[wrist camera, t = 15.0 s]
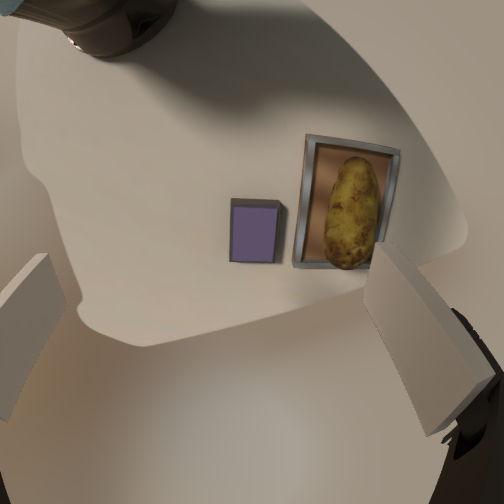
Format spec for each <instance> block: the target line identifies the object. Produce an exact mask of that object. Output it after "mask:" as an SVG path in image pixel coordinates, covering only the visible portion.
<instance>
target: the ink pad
mask: <svg viewBox="0 0 504 504" xmlns="http://www.w3.org/2000/svg"><path fill="white" fill-rule="evenodd" d="M280 208H281V204H280V202H279V200H265V199H239V198H231V212H230V254H229V262H255V263H275V258H276V248H277V238H278V229H279V218H280Z"/></svg>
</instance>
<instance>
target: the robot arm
mask: <svg viewBox="0 0 504 504" xmlns="http://www.w3.org/2000/svg"><path fill="white" fill-rule="evenodd" d="M176 4H177V0H0V15H1V16H8V15H9V16H14V17H18V18H22V19H26V20H30V21H34V22H38V23H41V24H44V25H48V26H51V27H54V28H57V29H60V30H62V31H63V33H64V34H65V35H66V36H67V37H68V39H69V41H70V42H71V44H72V45H73V46H74V47H75V48H76V49H78V50H79V51H81V52H83V53H86V54H89V55H92V56H96V57H113V56H118V55H122V54H125V53H127V52H130V51H132V50H134V49H136V48H138V47H140V46H141V45H143V44H145V43H146V42H147V41H149V40H150V39H151V38H153V37H154V36H155V35H156V34H157V33H158V32H159V31H160V30H161V29H162V28H163V27H164V26H165V24H166V23H167V22H168V20H169V19H170V17H171V16H172V14H173V12H174V10H175V7H176ZM362 301H363V303H364V305H365V307H366V309H367V311H368V313H369V314H370V316H371V318H372V320H373V322H374V324H375V326H376V328H377V330H378V332H379V334H380V336H381V337H382V340H383V342H384V344H385V346H386V348H387V350H388V352H389V354H390V355H391V358H392V360H393V362H394V364H395V366H396V368H397V370H398V372H399V375H400V377H401V379H402V381H403V383H404V385H405V388H406V390H407V392H408V394H409V397H410V399H411V401H412V404H413V406H414V408H415V410H416V413H417V415H418V417H419V420H420V423H421V425H422V428H423V430H424V432H425V435H426V437H428V436H430V435H432V434H435V433H437V432H439V431H441V430H444V429H445V428H447V427H448V426H449V425H450V423H452V422H453V421H454V420H455V419H456V421H457V423H458V425H457V426H456V427H455V428H454V429H453V430H452V431H451V432H450V433H448V434H447V435H446V436H445V437H444V438H443V440H442V442H441V443H442V444H443V443H445V442H446V441H447V440H449V439H450V438H451V437H452V439H451V441H450V442H449V443H448V444H447V445H449V449H448V453H447V456H446V459H445V462H444V465H443V468H442V471H441V474H440V477H439V479H438V482H437V485H436V487H435V490H434V492H433V495H432V497H431V499H430V502H429V504H504V372H503V371H502V369H501V367H500V366H499V364H498V363H497V361H496V360H495V358H494V357H493V355H492V354H491V352H490V351H489V349H488V348H487V346H486V345H485V344H484V342H483V341H482V339H479V335H478V334H477V332H476V331H475V330H473V327H472V326H471V324H470V323H469V322H468V320H467V319H466V318H465V317H464V316H463V315H461V314H460V313H459V312H458V311H456V310H455V309H454V308H451V309H450V308H449V306H448V305H447V304H446V303H445V301H444V300H443V299H442V298H441V297H440V295H439V294H438V293H437V292H436V290H435V289H434V288H433V287H432V286H431V284H430V283H429V282H428V281H427V280H426V279H425V277H424V276H423V275H422V274H421V273H420V272H419V271H418V269H417V268H416V267H415V266H414V265H413V264H412V263H411V262H410V260H409V259H408V258H407V257H406V256H405V255H404V254H403V253H402V252H401V251H400V250H399V249H398V247H397V246H396V245H395V244H394V243H393V242H375V247H374V252H373V256H372V261H371V265H370V269H369V274H368V278H367V282H366V286H365V290H364V293H363V297H362ZM68 306H69V304H68V302H67V300H66V298H65V295H64V293H63V290H62V288H61V286H60V283H59V281H58V278H57V275H56V273H55V270H54V267H53V265H52V262H51V259H50V256H49V254H48V253H45V254H44V253H41V254H36V255H35V256H34V257H33V258H32V259H31V260H30V261H29V262H28V263H27V264H26V265H25V266H24V267H23V268H22V269H21V271H20V272H19V273H18V274H17V275H16V276H15V277H14V278H13V279H12V280H11V281H10V283H9V284H8V285H7V286H6V287H5V288H4V289H3V291H2V292H1V293H0V419H1V420H3V421H5V422H7V423H8V421H9V419H10V416H11V414H12V411H13V409H14V406H15V404H16V402H17V399H18V397H19V395H20V392H21V391H22V388H23V386H24V384H25V382H26V380H27V378H28V376H29V374H30V372H31V370H32V368H33V366H34V364H35V362H36V360H37V358H38V357H39V355H40V353H41V351H42V349H43V347H44V346H45V344H46V342H47V340H48V339H49V337H50V335H51V333H52V332H53V330H54V328H55V327H56V325H57V323H58V322H59V320H60V318H61V317H62V315H63V313H64V312H65V310H66V309H67V307H68ZM0 504H11V503H10V500H9V497H8V495H7V492H6V489H5V486H4V483H3V479H2V476H1V472H0Z"/></svg>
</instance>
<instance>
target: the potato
mask: <svg viewBox="0 0 504 504" xmlns="http://www.w3.org/2000/svg"><path fill="white" fill-rule="evenodd" d="M377 210H378V184H377V179H376V175H375V171H374V169H373V167H372V165H371V163H370V162H369V161H367V160H365V159H364V158H360V157H358V156H353V157H351V158H349V159H347V160H346V161H345V162H344V163H343V164H342V166H341V167H340V169H339V171H338V178H337V181H336V183H335V184H334V185H333V188H332V192H331V198H330V202H329V206H328V210H327V213H326V218H325V223H324V234H323V249H324V253H325V256H326V259H327V260H328V261H329V262H330V263H331V264H332V265H333V266H335V267H337V268H339V269H342V270H353V269H355V268H357V267H359V266H361V265H362V264H363V263H364V262H365V261H366V260H367V259H368V257H369V256H370V254H371V252H372V250H373V246H374V236H375V232H376V226H377Z"/></svg>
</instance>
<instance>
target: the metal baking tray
mask: <svg viewBox="0 0 504 504" xmlns="http://www.w3.org/2000/svg"><path fill="white" fill-rule="evenodd" d="M353 156H358V157H360V158H364V159H365V160H367V161H369V162H370V163H371V165H372V167H373V169H374V171H375V175H376V179H377V184H378V210H377V226H376V232H375V236H374V246H373V250H372V252H371V254H370V256H369V257H368V259H367V260H366V261H365V262H364V263H363V264H362V265H361V266H359V267H357V268H355V269H370V265H371V261H372V256H373V252H374V247H375V242H382V241H383V237H384V233H385V229H386V225H387V220H388V216H389V211H390V207H391V202H392V197H393V192H394V186H395V181H396V175H397V169H398V163H399V156H400V150H398V149H394V148H390V147H385V146H380V145H375V144H370V143H365V142H359V141H354V140H348V139H341V138H335V137H328V136H320V135H312V134H306V139H305V150H304V160H303V171H302V180H301V189H300V198H299V207H298V216H297V224H296V232H295V240H294V247H293V255H292V264H293V267H294V268H337V267H335V266H333V265H332V264H331V263H330V262H329V261H328V260H327V259H326V256H325V253H324V249H323V234H324V223H325V218H326V213H327V210H328V206H329V202H330V198H331V192H332V188H333V185H334V184H335V183H336V181H337V178H338V171H339V169H340V167H341V166H342V164H343V163H344V162H345V161H346V160H347V159H349V158H351V157H353Z"/></svg>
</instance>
